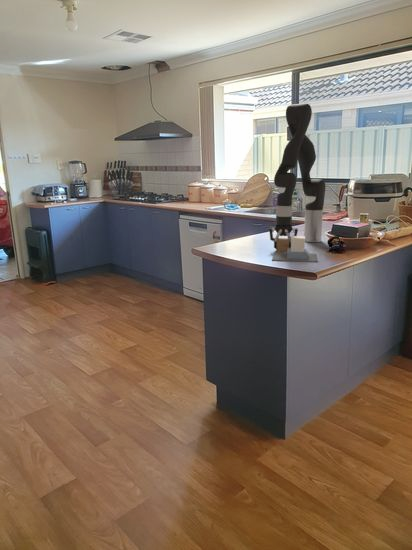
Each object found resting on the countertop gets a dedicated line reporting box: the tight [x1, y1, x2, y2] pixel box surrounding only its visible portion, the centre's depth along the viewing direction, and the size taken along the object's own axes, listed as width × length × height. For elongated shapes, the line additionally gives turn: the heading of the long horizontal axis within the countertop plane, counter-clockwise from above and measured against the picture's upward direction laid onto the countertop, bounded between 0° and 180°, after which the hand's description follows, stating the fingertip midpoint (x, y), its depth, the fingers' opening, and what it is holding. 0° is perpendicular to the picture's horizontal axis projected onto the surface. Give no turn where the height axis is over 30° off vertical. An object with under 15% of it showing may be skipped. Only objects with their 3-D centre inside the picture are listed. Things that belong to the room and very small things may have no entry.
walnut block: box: [275, 237, 290, 253], centre depth 212 cm, size 6×6×6 cm
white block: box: [290, 235, 306, 252], centre depth 196 cm, size 6×6×6 cm
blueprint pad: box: [271, 248, 319, 263], centre depth 197 cm, size 16×20×4 cm
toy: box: [326, 235, 347, 254], centre depth 212 cm, size 9×6×15 cm
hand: (282, 249), depth 212 cm, fingers closed on walnut block, 6 cm apart
